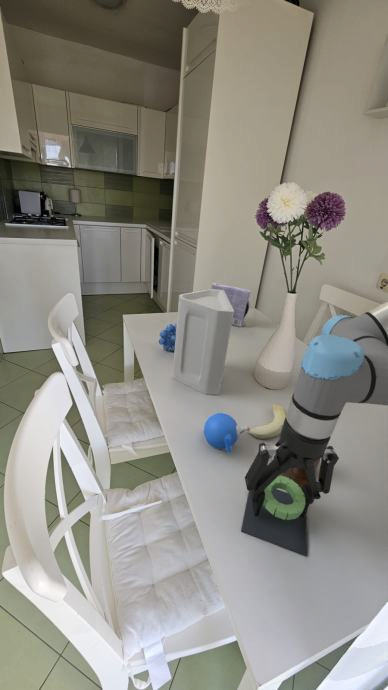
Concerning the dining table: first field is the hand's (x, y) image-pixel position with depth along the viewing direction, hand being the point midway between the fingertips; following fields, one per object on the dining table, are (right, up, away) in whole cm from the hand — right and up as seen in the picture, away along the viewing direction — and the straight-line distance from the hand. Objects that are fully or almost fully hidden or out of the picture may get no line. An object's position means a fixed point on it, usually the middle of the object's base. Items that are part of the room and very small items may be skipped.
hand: (277, 510), depth 61 cm
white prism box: (-17, +22, +42) cm, 50 cm away
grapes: (-25, +31, +57) cm, 70 cm away
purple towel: (-1, +44, +87) cm, 98 cm away
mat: (0, -1, +1) cm, 1 cm away
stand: (+9, +3, +11) cm, 14 cm away
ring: (0, +3, -2) cm, 3 cm away
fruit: (+4, +11, +25) cm, 27 cm away
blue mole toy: (-9, +8, +17) cm, 21 cm away
